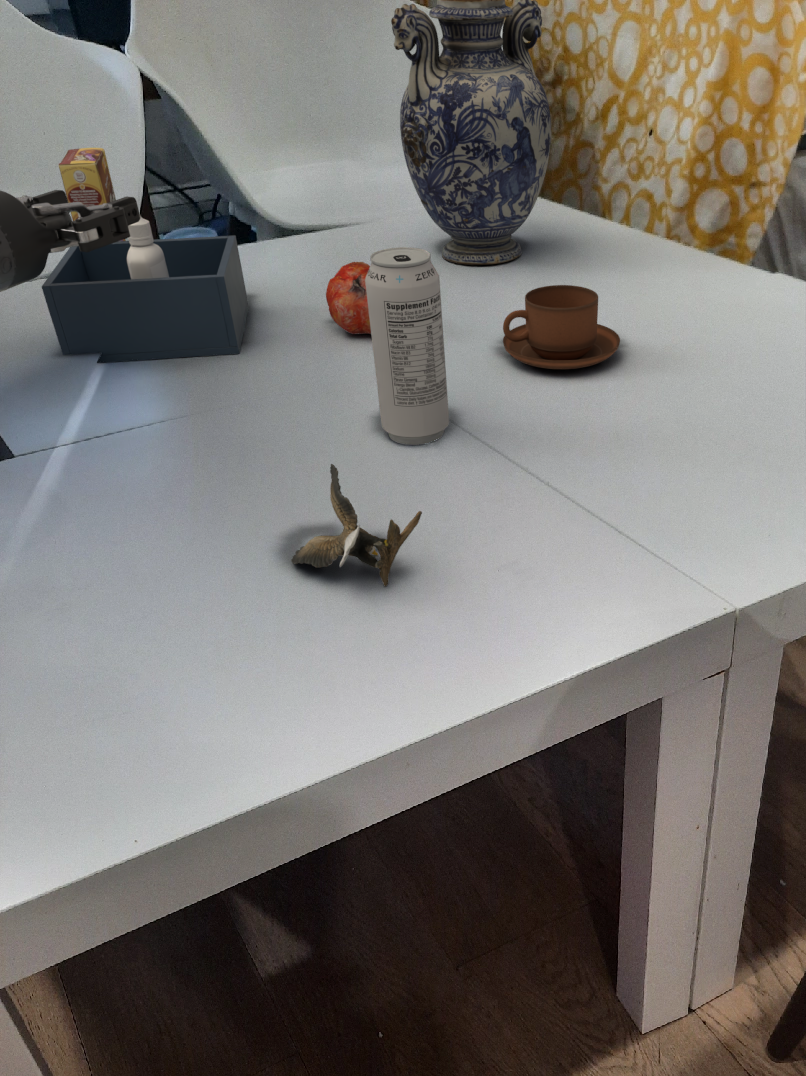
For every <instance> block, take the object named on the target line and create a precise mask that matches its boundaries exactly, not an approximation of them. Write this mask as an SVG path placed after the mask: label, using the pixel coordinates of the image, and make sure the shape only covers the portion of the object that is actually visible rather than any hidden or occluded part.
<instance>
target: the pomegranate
mask: <svg viewBox="0 0 806 1076" xmlns="http://www.w3.org/2000/svg"><path fill="white" fill-rule="evenodd" d="M369 268H370V265H369V264H368V263H366V262H364V261H352V262H349V263H347V264H344V265H342V266H340V268H339V270H337V272H336V273H335V275H334V276H333V277H332V278H330V280H329V281H328V283H327V287H326V290H325V291H326V292H325V299H326V303H327V307H328V312H329V315H330V317H331V319H332V320H333V321H334V323H336V324H337V325H338V327H339V328H341V329H342V330H344V331H345V332H347V333H349V334H352V335H364V334H365V335H366V334H369V335H371V327H370V318H369V310H368V301H367V292H366V283H365V279H366V275H367V273H368V270H369Z"/></svg>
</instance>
